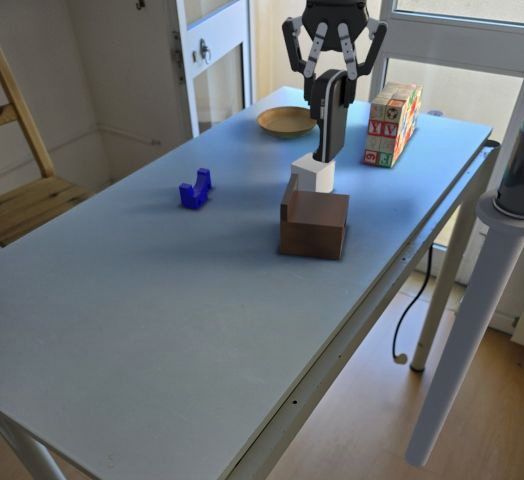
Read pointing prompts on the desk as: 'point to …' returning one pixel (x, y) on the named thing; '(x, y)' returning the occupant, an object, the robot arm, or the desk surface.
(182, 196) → the cable holder
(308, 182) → the white cube
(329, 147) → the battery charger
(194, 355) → the desk surface
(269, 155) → the desk surface
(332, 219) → the brown boxy piece
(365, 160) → the stack of blocks
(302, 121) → the plant saucer
